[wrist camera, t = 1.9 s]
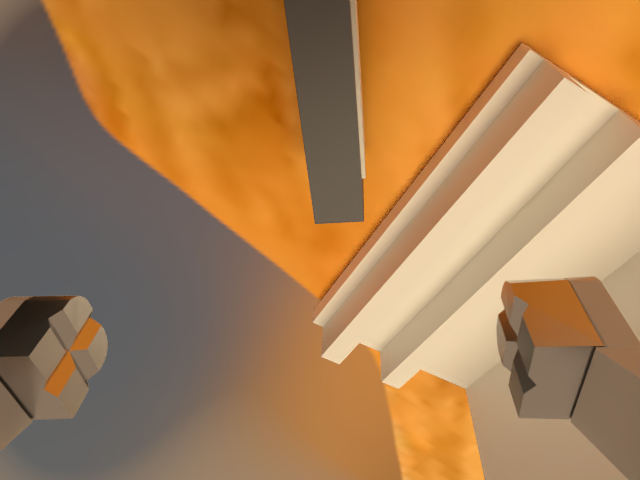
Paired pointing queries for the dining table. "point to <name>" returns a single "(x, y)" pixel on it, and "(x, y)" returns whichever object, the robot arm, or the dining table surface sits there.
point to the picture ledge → (499, 254)
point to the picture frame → (330, 104)
